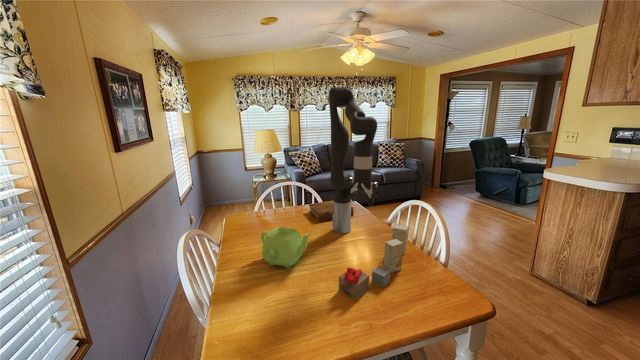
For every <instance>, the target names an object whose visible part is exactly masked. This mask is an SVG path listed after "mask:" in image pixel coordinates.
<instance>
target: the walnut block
mask: <svg viewBox="0 0 640 360" xmlns="http://www.w3.org/2000/svg"><path fill="white" fill-rule="evenodd" d="M351 268H352V269H354V270H357V269H355V268H354V267H351ZM345 272H347V270H346V271H345ZM345 272H343V274H340V275H339V276H338V291H339V292H341V293H342V294H345V295H346V296H348V297H349V298H352V299H353V300H355V301H357V300H358V299H360V298H361V297H362V296H363V295H364V294H365V293H366V292H368V291H369V289H370V275H369V274H367V273H365V272H363V271H362V274H361V276H360V279H359V282H358V284H357V283H352V282H347V281H345ZM354 275H355V274H353V276H354Z"/></svg>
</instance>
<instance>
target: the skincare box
mask: <svg viewBox="0 0 640 360" xmlns="http://www.w3.org/2000/svg"><path fill="white" fill-rule="evenodd" d="M402 251H403V243H402V242H401V241H399V240H397V239H394V240H392V239H390V240H388V241H385V242H384V253H383V254H384V256H383V268H386V269H388V270H390V274H391V273H394V272H397V271H400V270H402V263H403V254H402Z"/></svg>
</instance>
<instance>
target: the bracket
mask: <svg viewBox="0 0 640 360" xmlns="http://www.w3.org/2000/svg"><path fill="white" fill-rule="evenodd" d="M352 268H353V267H347V269H346V271H347V272H346V271H345V272H344V273H345V281H347V282H352V283H357V284H358V282H359V279H360V276H361V274H362V272H363V270H362V269H356V270H354V269H355V268H354V269H352ZM353 274H355V275H354V276H353Z"/></svg>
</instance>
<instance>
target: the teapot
mask: <svg viewBox="0 0 640 360" xmlns="http://www.w3.org/2000/svg"><path fill="white" fill-rule="evenodd" d="M312 235H313V234H312V233H306V234H303V237H302V236H301V234H300V232H299V230H298V229H296V228H290V227H285V226H278V227H274V228H273V229H271V230H270V231H269V230H266V231H265V230H264V231H263V232H262V233H261V235H260V238H261V242H262V243H263V244H262V245H261V248H262V251H261V255H262V258H263V260H265V262H266V263H268V265H269V266H270V265H271V267H274V266H281V267H284V269H287V270H289V269H291V268H293V266H294V265H295V264H297V262H298V261H299V260H300V258H301V257H302V255H303V254H304V253H305V251H306V250H307V247H308V238H309V237H311V236H312Z"/></svg>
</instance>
